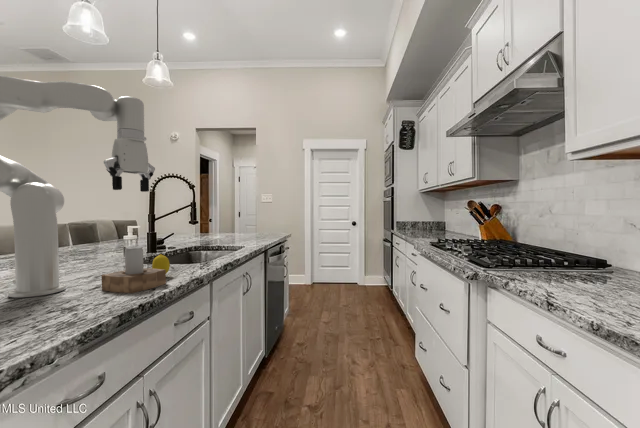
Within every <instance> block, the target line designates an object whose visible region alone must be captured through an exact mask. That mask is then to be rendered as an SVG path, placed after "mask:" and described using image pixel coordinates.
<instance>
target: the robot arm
mask: <svg viewBox="0 0 640 428" xmlns="http://www.w3.org/2000/svg"><path fill="white" fill-rule="evenodd" d="M56 109H74V110H75V109H76V110H81V111H82V110H83V111H88V112H90V114H91V115H92V116H93V117H94V118H95V119H97V120H99V121H103V122H116V129H117V130H116V131H117V132H116V133H117V134H116V137H117V138H115V139H114V141H113V145H112V149H111V150H112V152H111V158H107V159H105V160H104V161H103V164H104V166H105V169H106V171H107V172H108V173H109V176H110V177H111V179H112V182H111V183H112V184H111V185H112V190H113V191H120V190H123V177H122V176H121V175H122V174H123V173H125V174H134V175H136V174H138V175H139V177H140V178H141V179H140V182H139V185H140V192H142V193H143V192H145V193H146V192H150V180H151V178H152V177H153V176H154V172H155V171H156V167H154V165H152V164H150V162H149V156H148V155H149V154H148V147H147V144H146V143H145V142H146V141H147V137H146V136H145V105H144V102H143V101H142V100H141V99H140V98H138V97H134V96H128V95H125V96H120V97H118V98H117V99H114V96H113V95H112V94H111V93H110V92H109V91H108V90H107V89H105V88H102V87H100V86H97V85H92V84H85V83H80V82H74V81H39V80H31V79H25V78H18V77H13V76H6V75H1V74H0V121H1V120H4V119H5V118H7V117H9V116H10V115H11V114H13V113H15V112H16V111H17V110H22V111H29V112H36V113H43V114H45V113H50V112H52V111H53V110H56ZM0 192H1V193H3V194H5V195H6V196H7V197H9V198H10V200H9V201H10V204H9V205H10V211H11V215H12V221H13V222H12V223H13V239H14V264H15V265H14V269H15V270H14V271H15V279H14V280H12V284H13V285H15V289H12V290H9V291H8V292H7V296H8V297H10V298H15V299H18V298H19V299H20V298H31V297H41V296H46V295H52V294H55V293H60V292H62V291H65V290H66V289H67V285H66V284H65V283H60V263H59V262H60V258H59V257H60V253H59V249H60V248H59V229H58V226H59V225H58V218H57V217H58V216H57V213H58V212H60V211H61V210H62V208H63V207H64V205H65V197H64V195H63V193H62V191H60V189H58V188H57V187H56V186H54V185H53V184H51V183H50V182H49V181H48V180H46V179H44V178H43V177H41V175H40V176H39V174H37V173H36V172H34V171H32V170H31V169H30V168H28V167H27V166H25V165H23V164H21V163H20V162H17V161H15V160H12V159H9V158H7V157H5V156H2V155H0Z"/></svg>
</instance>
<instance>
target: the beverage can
mask: <svg viewBox="0 0 640 428" xmlns="http://www.w3.org/2000/svg"><path fill="white" fill-rule="evenodd" d="M124 263H125V264H124V270H125V274H127V275H128V274H139V273H144V268H145V267H144V249H143V247H142V246H129V247H125V250H124Z"/></svg>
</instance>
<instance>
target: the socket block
mask: <svg viewBox="0 0 640 428" xmlns="http://www.w3.org/2000/svg"><path fill="white" fill-rule="evenodd" d="M166 276H167V273H166V270H164V269H152V267H148V268H147V267H146V268H145V267H144V273H139V274H128V275H127V274H125V269H123V270H117V271H114V272H113V271H112V272H110V273H105V274H101V291H105V292H111V293H120V294H121V293H124V294H126V293H128V294H134V293H139V292H142V291H147V290H150V289H154V288H157V287H159V286H163V285H166V284H167V277H166Z"/></svg>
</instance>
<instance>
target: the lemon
mask: <svg viewBox="0 0 640 428" xmlns="http://www.w3.org/2000/svg"><path fill="white" fill-rule="evenodd" d="M170 265H171V264H170V259H169V258H168V257H167V256H166V255H163V254H161V253H160V254H159V255H157V256H156V257H154V258H153V260H152V265H151V268H152V269H164V270H166V274H167V273H169V271H170V268H171V267H170Z"/></svg>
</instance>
